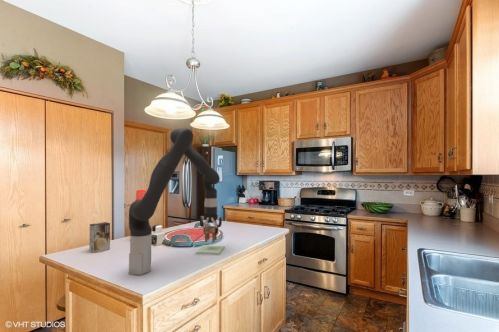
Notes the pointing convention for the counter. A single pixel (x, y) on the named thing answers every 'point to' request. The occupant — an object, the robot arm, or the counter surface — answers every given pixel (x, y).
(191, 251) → the counter surface
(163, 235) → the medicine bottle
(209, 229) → the walnut stool
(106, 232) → the coffee box
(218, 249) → the sage mat
